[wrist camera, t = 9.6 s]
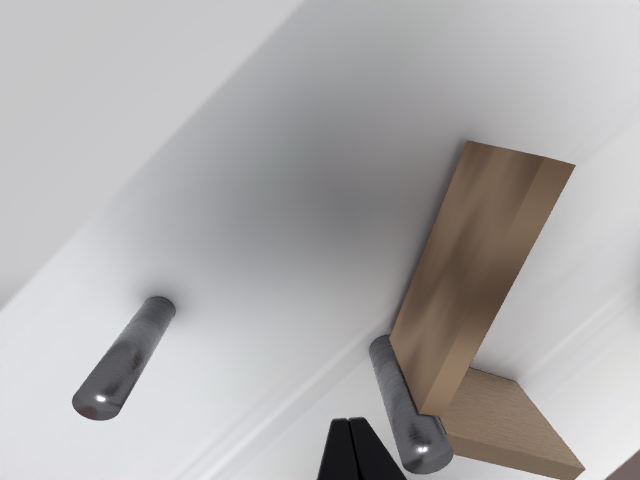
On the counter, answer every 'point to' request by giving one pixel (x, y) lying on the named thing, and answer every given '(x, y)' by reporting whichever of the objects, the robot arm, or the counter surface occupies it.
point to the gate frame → (407, 424)
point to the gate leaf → (471, 265)
